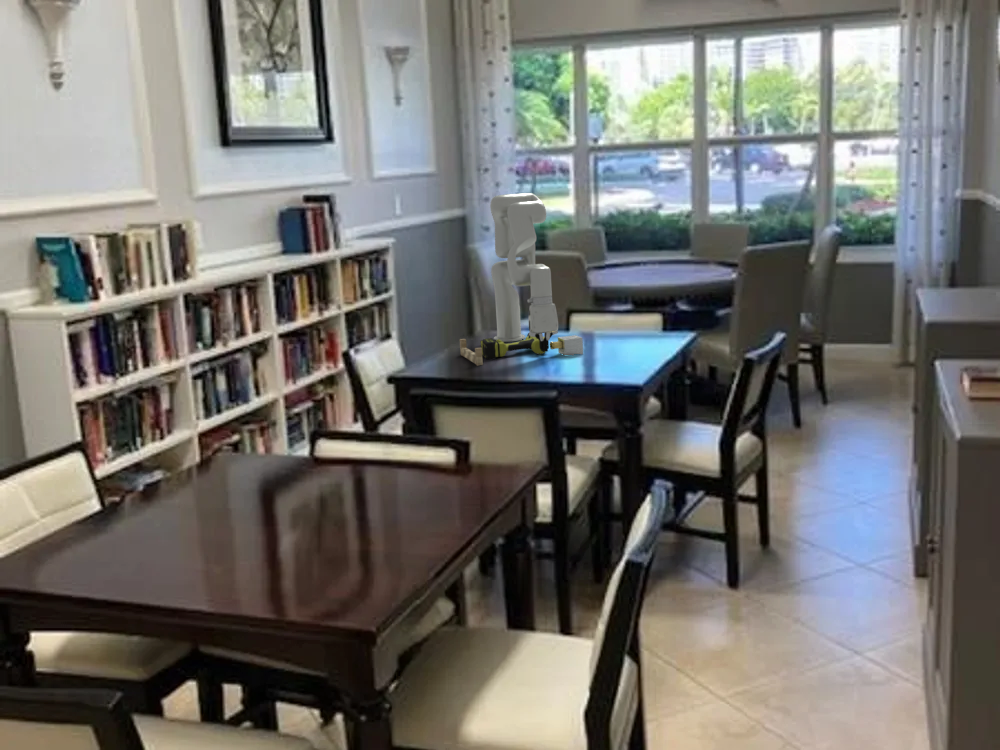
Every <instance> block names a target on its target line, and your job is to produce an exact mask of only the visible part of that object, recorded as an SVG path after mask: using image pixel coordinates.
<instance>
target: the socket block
mask: <svg viewBox="0 0 1000 750" xmlns="http://www.w3.org/2000/svg"><path fill="white" fill-rule="evenodd" d="M557 341H563V348H558V351H557V352H558V354H559V353H561V354H563V355H572V356H575V355H574V354H581V355H584V343H583V341H584V340H583V337H582V336H579V335H576V334H575V335H574V334H573V335H567V336H565V335H564V336H558V337H557ZM561 354H560V355H561ZM563 355H562V356H563Z"/></svg>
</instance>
